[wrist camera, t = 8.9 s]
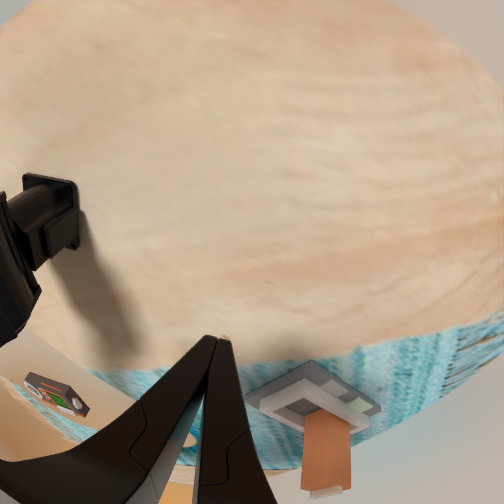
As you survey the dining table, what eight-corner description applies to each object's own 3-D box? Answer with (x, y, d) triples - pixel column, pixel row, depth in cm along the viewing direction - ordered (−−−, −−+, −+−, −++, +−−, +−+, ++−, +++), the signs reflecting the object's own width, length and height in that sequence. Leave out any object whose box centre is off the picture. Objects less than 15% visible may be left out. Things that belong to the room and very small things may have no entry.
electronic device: (17, 378, 41) (64, 398, 38) (24, 367, 44) (72, 384, 40) (36, 400, 45) (85, 420, 41) (43, 389, 47) (92, 408, 44)
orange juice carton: (304, 415, 32) (299, 495, 23) (328, 405, 31) (327, 489, 22) (325, 426, 33) (324, 500, 24) (348, 416, 32) (351, 494, 23)
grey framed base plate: (244, 395, 33) (241, 411, 31) (311, 359, 28) (311, 378, 26) (317, 432, 36) (316, 447, 34) (380, 405, 32) (382, 421, 30)
